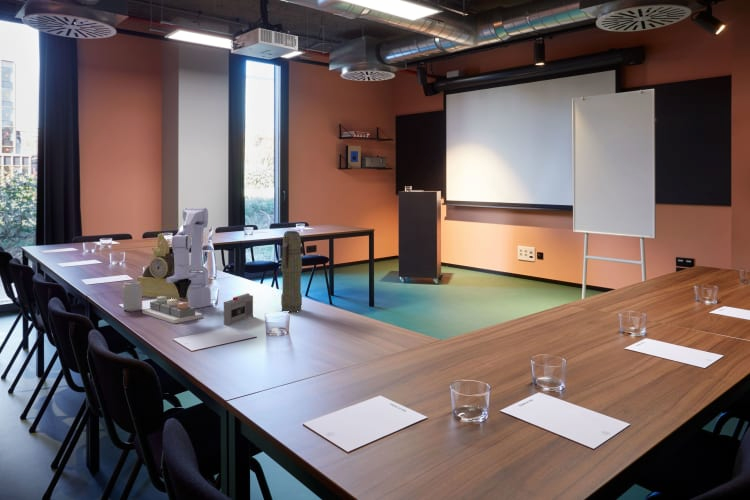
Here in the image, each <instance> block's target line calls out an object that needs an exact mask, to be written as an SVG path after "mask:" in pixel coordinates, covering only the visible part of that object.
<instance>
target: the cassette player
mask: <svg viewBox="0 0 750 500" xmlns="http://www.w3.org/2000/svg"><path fill="white" fill-rule="evenodd" d="M252 317H254V295H250V293H244V294H241V295H238V296H235V297H232V299H230V300H226V301H224V302H223V325H226V326H230V325H231V326H232V325H234V324H236V323H239V322H242V321H245V320H247V319H250V318H252Z"/></svg>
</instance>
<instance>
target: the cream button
mask: <svg viewBox="0 0 750 500" xmlns="http://www.w3.org/2000/svg"><path fill="white" fill-rule="evenodd" d="M177 303H178V300H177V299H167V306H169V307H171V306H177Z"/></svg>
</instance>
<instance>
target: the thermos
mask: <svg viewBox="0 0 750 500" xmlns="http://www.w3.org/2000/svg"><path fill="white" fill-rule="evenodd" d="M301 239H302V238H301V235H300V232H299V231H296V230H287V231H285V232H284V234H283V238H282V246H281V247H282V248H281V249H282V250H281V266H280V267H281V268H280V269H281V273H282V293H281V297H280V300H281V301H280V303H281V304H280V305H281V312H283V311H289V312H296V313H298V312H297V311H300V310H301V311H302V305H303V296H302V292H301V290H302V288H301V287H302V286H301V285H302V283H301V282H302V280H301V279H302V277H301V275H302V271H303V259H302V256H301V255H302V254H301V253H302V251H301V248H302V245H301V242H302V240H301ZM301 311H300V312H301Z"/></svg>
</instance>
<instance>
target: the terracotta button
mask: <svg viewBox="0 0 750 500" xmlns="http://www.w3.org/2000/svg"><path fill="white" fill-rule="evenodd" d="M177 303H178V309H179V310H183V309H188V301H181V302H177Z"/></svg>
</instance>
